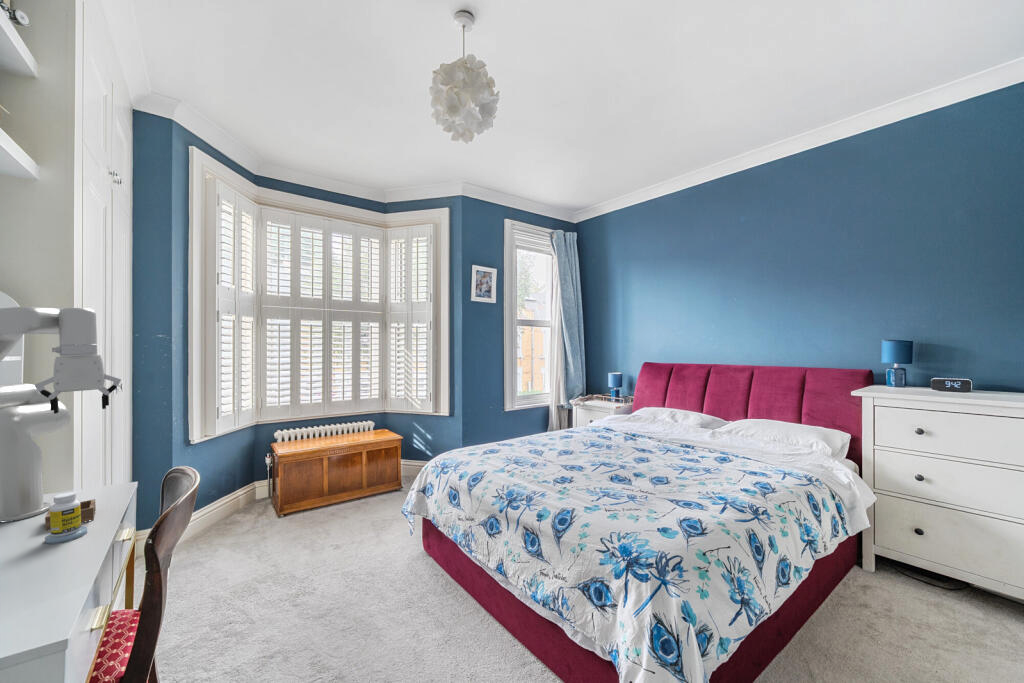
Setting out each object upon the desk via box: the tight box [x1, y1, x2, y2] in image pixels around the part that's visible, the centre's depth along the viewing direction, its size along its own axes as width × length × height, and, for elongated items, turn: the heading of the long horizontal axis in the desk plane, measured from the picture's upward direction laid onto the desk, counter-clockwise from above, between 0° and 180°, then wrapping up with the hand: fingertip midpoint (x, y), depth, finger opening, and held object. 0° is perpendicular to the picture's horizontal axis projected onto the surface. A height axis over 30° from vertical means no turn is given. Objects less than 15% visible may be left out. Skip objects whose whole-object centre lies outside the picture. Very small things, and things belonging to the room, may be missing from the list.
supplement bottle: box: [50, 491, 82, 537], centre depth 109 cm, size 5×5×10 cm
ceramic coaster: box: [44, 525, 88, 545], centre depth 109 cm, size 8×8×1 cm
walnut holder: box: [44, 498, 97, 532], centre depth 119 cm, size 9×9×4 cm
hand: (80, 410), depth 122 cm, fingers open, 9 cm apart
